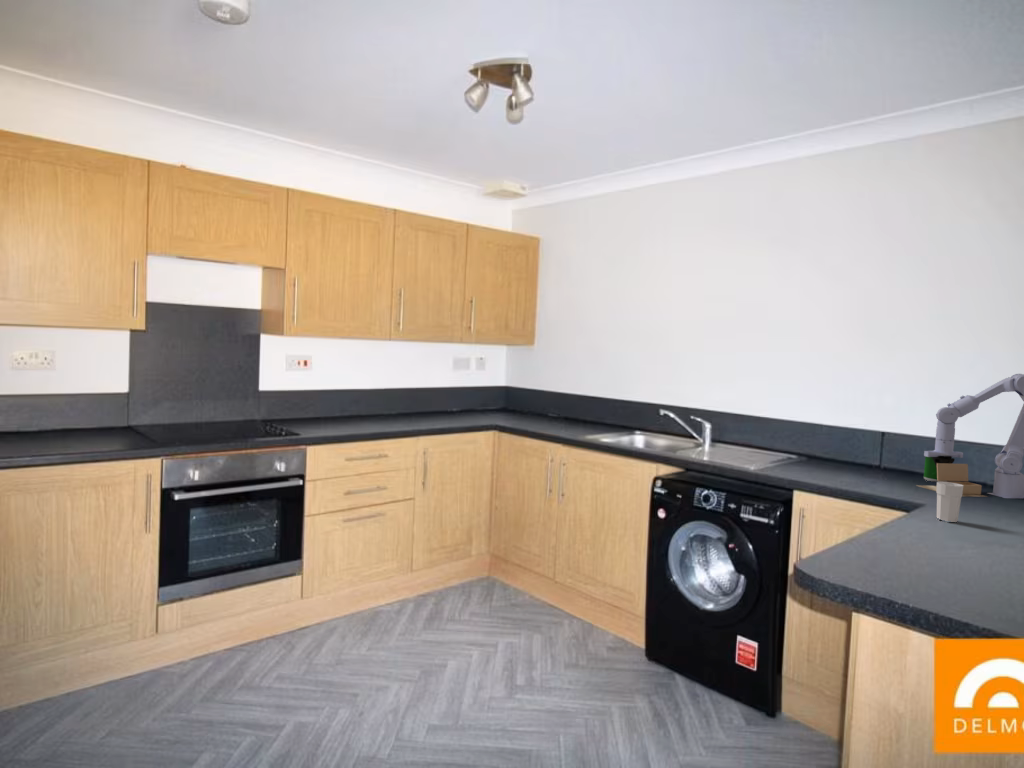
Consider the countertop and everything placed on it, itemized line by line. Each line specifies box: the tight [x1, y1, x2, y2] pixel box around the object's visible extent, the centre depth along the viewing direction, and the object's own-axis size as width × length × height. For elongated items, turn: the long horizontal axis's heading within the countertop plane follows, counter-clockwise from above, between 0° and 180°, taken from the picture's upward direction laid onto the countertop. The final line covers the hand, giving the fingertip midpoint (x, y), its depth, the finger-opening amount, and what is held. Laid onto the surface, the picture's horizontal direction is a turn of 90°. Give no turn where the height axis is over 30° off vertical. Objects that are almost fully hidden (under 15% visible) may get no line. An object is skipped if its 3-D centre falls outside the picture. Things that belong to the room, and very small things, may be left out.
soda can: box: [923, 455, 949, 483], centre depth 256 cm, size 8×8×12 cm
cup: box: [935, 481, 964, 523], centre depth 192 cm, size 7×7×11 cm
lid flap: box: [937, 463, 969, 482], centre depth 236 cm, size 12×6×1 cm
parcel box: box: [938, 481, 983, 495], centre depth 233 cm, size 12×6×4 cm, turn 99°
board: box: [915, 484, 989, 498], centre depth 236 cm, size 14×17×1 cm
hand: (941, 476), depth 241 cm, fingers closed
